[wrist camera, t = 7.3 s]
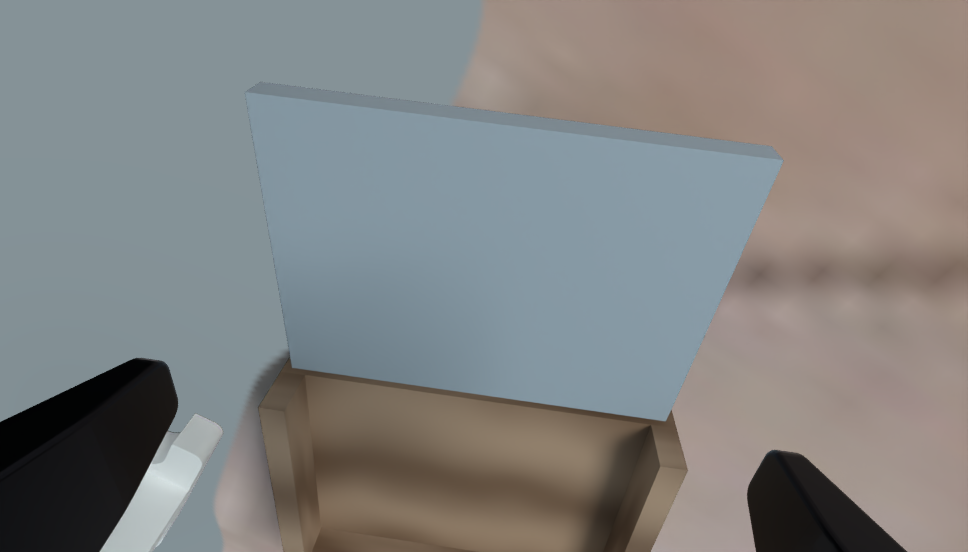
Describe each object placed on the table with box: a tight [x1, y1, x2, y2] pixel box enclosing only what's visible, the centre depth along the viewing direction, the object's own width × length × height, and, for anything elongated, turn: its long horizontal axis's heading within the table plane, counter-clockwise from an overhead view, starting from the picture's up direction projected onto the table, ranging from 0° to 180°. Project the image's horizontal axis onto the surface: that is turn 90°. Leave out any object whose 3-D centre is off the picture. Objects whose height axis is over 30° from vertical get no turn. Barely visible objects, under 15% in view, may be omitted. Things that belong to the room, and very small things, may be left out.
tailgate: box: [245, 82, 784, 421], centre depth 18 cm, size 1×15×11 cm
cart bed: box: [258, 358, 688, 552], centre depth 23 cm, size 11×16×6 cm
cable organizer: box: [100, 413, 223, 552], centre depth 25 cm, size 5×10×10 cm, turn 147°
